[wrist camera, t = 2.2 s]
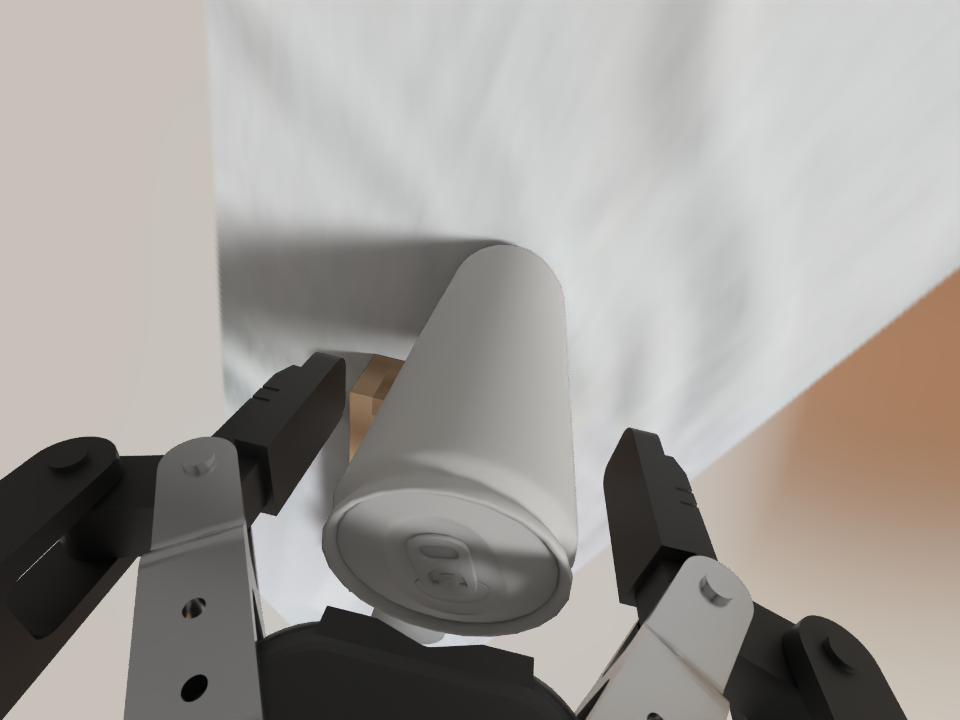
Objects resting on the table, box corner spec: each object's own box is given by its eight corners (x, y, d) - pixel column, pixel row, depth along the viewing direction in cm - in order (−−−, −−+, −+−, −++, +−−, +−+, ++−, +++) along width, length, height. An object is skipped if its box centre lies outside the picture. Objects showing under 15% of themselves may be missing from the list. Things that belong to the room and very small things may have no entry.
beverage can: (460, 348, 19) (359, 629, 9) (439, 246, 17) (268, 480, 7) (566, 343, 18) (583, 651, 8) (561, 233, 16) (577, 485, 6)
